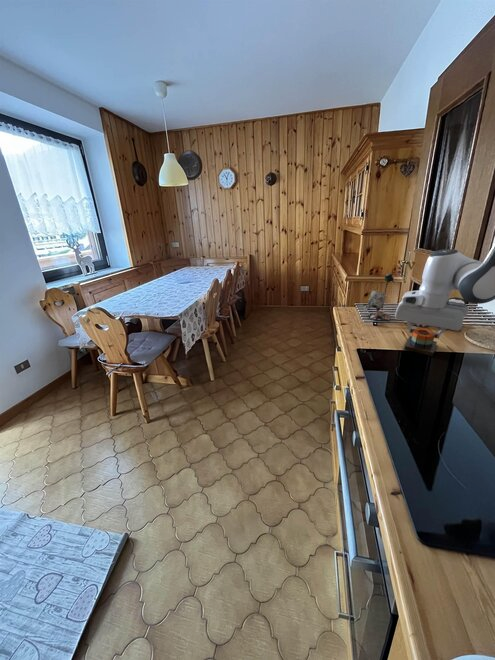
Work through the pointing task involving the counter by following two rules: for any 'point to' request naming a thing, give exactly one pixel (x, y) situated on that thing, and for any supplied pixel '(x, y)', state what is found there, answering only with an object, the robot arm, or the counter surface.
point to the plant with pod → (379, 301)
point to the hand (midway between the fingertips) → (423, 334)
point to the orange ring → (423, 334)
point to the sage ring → (422, 341)
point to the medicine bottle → (457, 301)
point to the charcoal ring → (420, 345)
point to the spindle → (419, 350)
